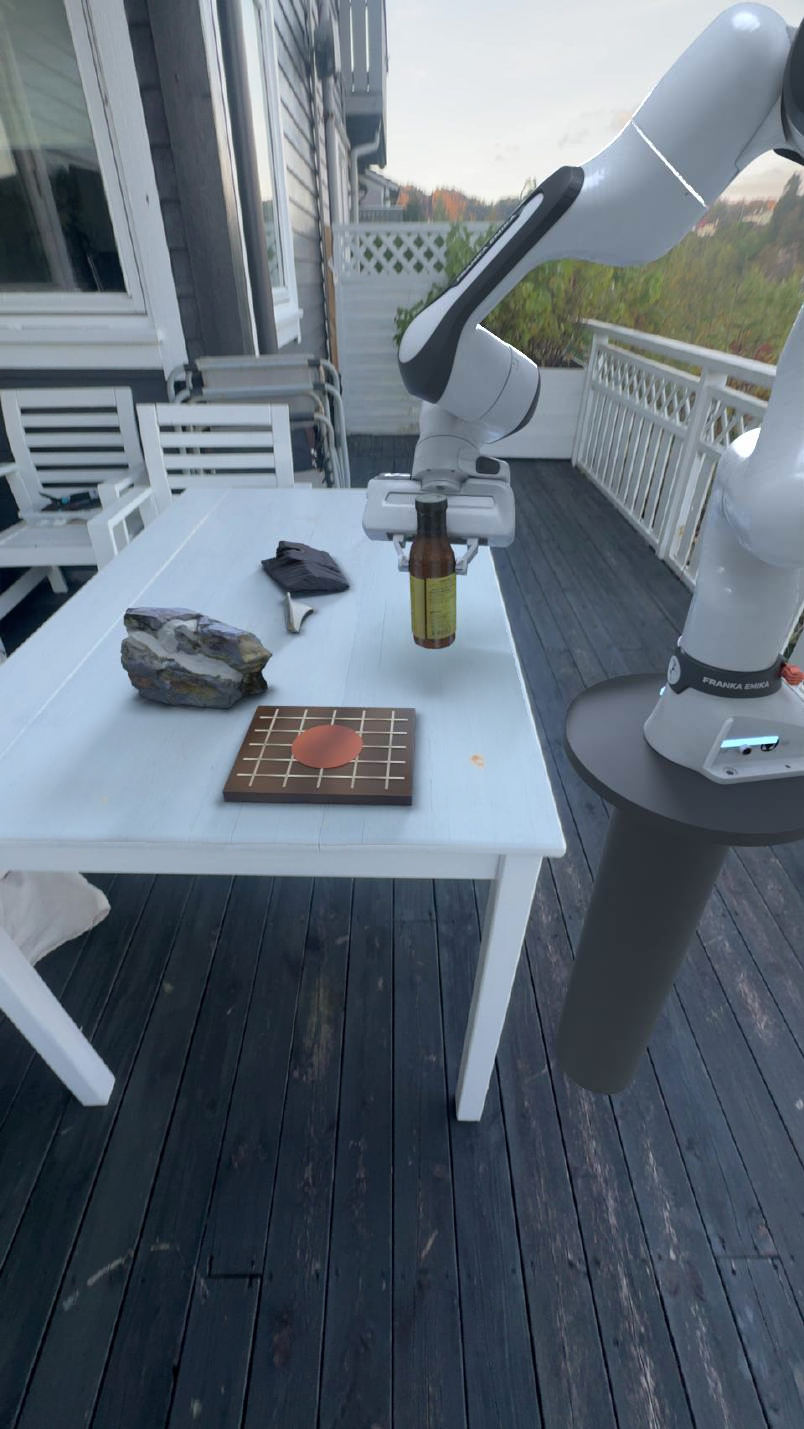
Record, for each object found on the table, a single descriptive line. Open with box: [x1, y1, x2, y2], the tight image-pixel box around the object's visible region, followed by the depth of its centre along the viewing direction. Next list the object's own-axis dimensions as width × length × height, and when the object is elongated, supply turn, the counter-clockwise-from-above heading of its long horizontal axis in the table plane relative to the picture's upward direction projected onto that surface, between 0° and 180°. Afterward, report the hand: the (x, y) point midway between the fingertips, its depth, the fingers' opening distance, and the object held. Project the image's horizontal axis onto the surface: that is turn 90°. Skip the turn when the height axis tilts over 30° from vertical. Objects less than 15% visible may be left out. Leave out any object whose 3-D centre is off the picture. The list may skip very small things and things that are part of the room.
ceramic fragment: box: [283, 591, 314, 634], centre depth 113 cm, size 14×5×4 cm, turn 11°
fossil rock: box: [120, 606, 273, 709], centre depth 89 cm, size 20×9×15 cm, turn 76°
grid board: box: [222, 704, 416, 806], centre depth 80 cm, size 22×18×2 cm
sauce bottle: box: [408, 493, 457, 650], centre depth 82 cm, size 7×6×20 cm
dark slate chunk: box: [260, 540, 351, 594], centre depth 128 cm, size 15×22×5 cm
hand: (432, 572), depth 82 cm, fingers closed on sauce bottle, 6 cm apart
